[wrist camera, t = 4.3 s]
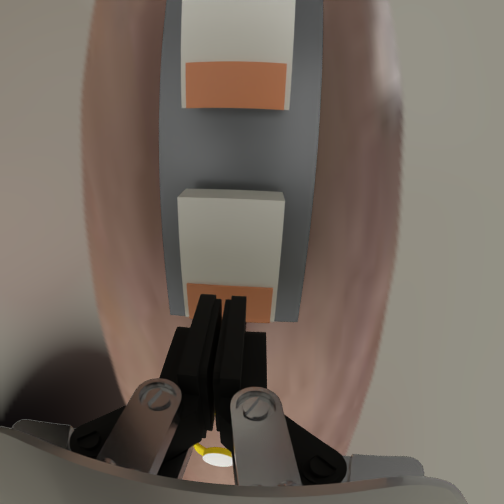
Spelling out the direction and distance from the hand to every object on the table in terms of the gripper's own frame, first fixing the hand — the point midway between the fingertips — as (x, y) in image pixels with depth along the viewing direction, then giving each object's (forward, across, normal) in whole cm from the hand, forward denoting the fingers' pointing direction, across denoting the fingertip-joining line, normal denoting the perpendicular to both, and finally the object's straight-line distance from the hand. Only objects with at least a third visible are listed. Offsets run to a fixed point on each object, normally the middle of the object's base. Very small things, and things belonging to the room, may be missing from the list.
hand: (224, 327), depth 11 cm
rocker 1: (+3, 0, -11) cm, 11 cm away
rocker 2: (+3, 0, -2) cm, 3 cm away
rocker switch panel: (+8, 0, -4) cm, 9 cm away
